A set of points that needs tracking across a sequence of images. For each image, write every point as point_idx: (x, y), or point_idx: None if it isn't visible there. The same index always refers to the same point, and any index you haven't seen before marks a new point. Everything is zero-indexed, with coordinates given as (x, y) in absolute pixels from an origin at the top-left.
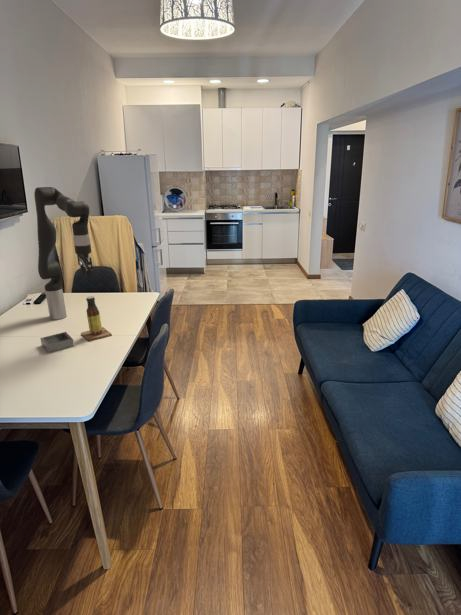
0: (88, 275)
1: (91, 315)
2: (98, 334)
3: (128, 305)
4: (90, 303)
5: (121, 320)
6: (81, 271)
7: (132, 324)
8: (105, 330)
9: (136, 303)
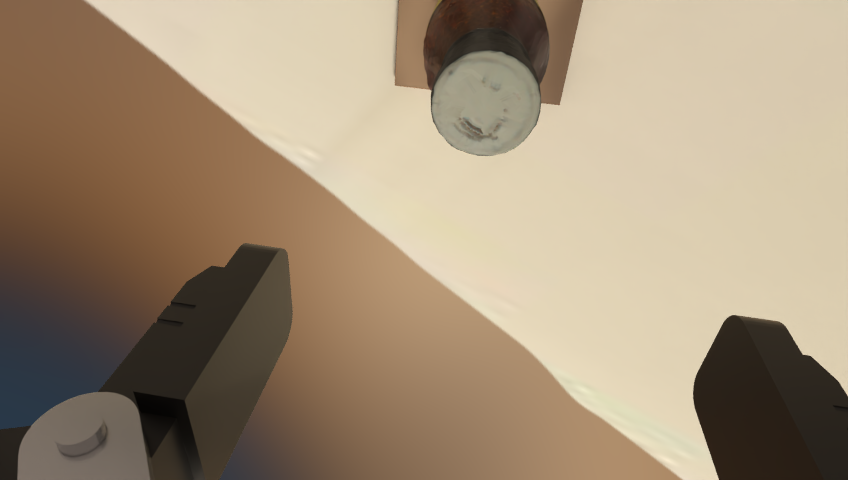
0: (182, 293)
1: (439, 7)
2: None
3: None
4: (447, 58)
5: (592, 253)
6: (768, 374)
7: (474, 258)
8: None
9: None
